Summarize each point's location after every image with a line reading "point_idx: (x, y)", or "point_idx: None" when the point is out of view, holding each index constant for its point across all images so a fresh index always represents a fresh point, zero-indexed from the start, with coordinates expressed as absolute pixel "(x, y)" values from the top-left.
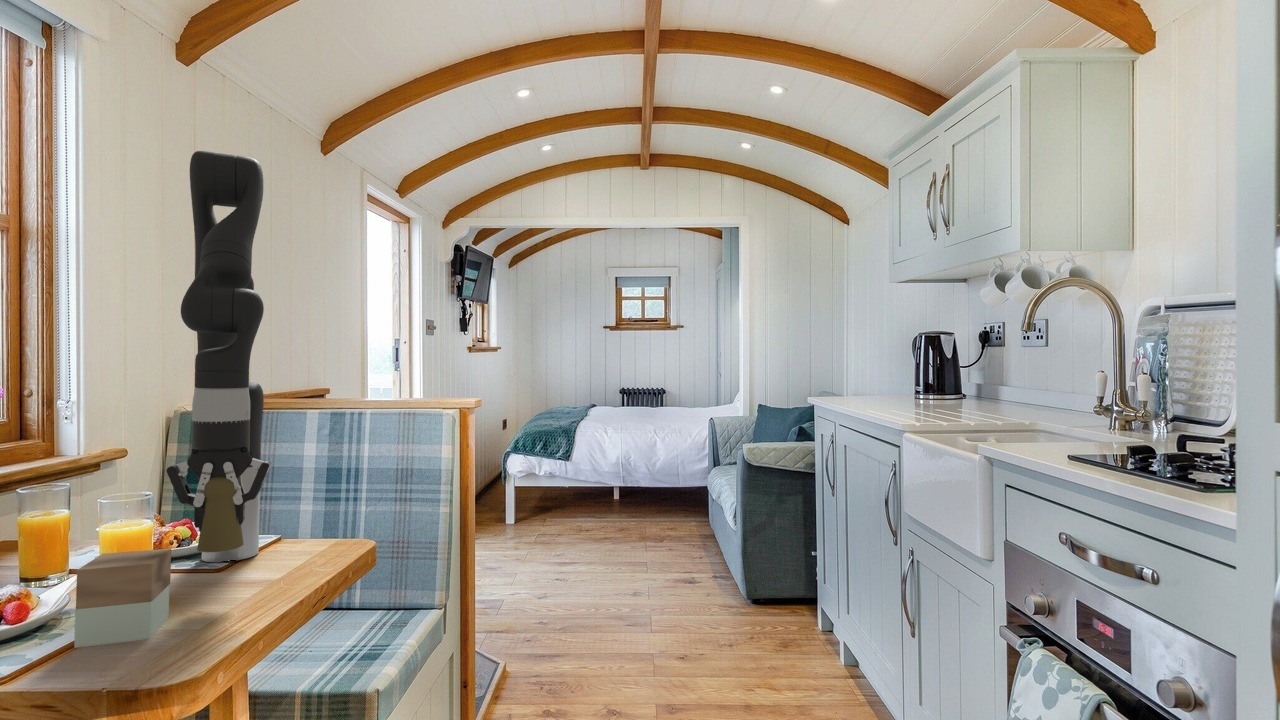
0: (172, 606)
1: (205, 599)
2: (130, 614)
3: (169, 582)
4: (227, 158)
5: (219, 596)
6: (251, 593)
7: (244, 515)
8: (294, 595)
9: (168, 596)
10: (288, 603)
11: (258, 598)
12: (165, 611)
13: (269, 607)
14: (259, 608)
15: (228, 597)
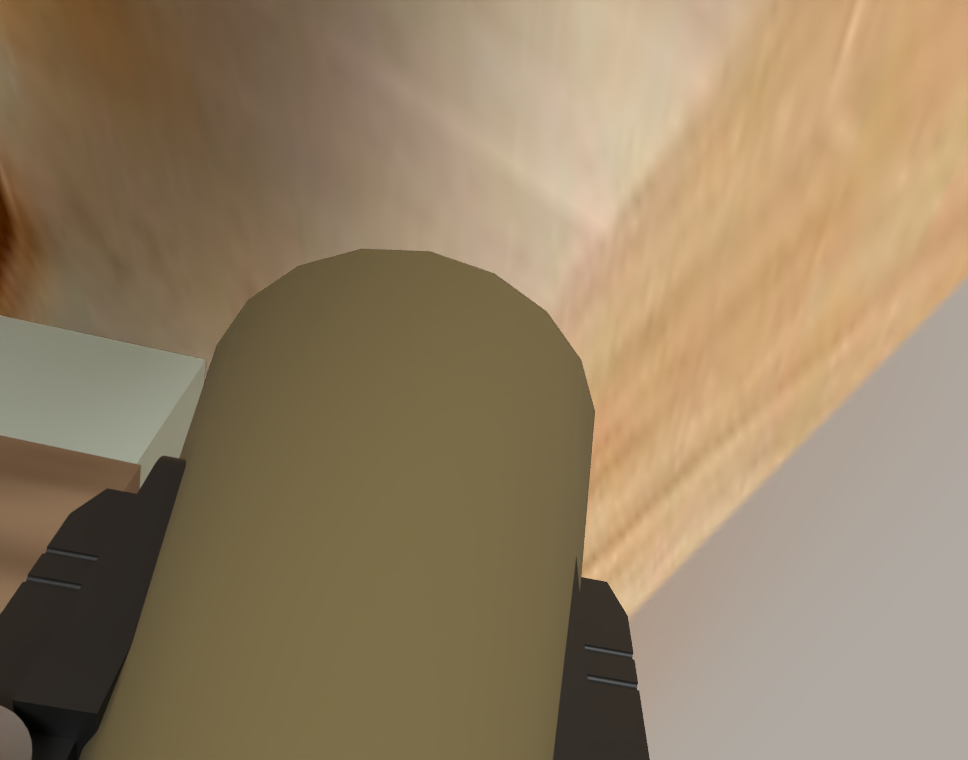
0: (189, 174)
1: (361, 139)
2: None
3: (135, 488)
4: None
5: (440, 122)
6: (623, 174)
7: (628, 670)
8: (821, 358)
9: (164, 433)
10: (752, 467)
11: (641, 301)
12: (185, 436)
13: (659, 475)
14: (614, 464)
15: (490, 179)
